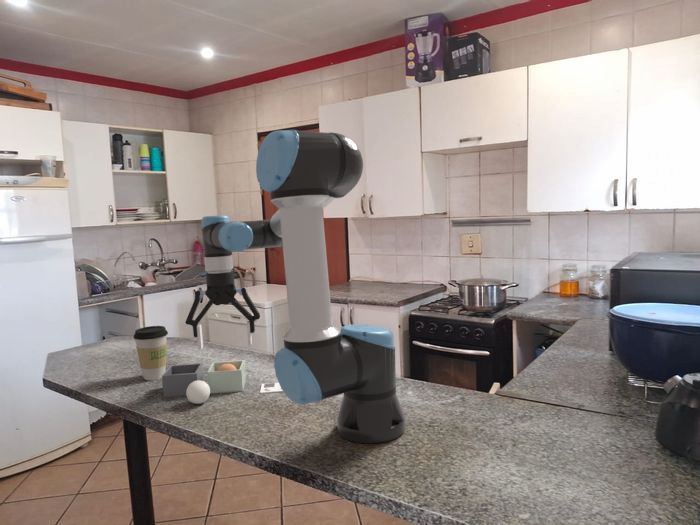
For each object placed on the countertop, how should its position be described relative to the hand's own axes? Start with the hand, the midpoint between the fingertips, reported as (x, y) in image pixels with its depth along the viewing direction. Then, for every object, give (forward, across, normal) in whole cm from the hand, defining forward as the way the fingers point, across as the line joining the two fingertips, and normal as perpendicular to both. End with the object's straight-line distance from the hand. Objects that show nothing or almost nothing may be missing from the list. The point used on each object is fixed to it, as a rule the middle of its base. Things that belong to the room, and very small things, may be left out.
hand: (225, 346), depth 142 cm
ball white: (+9, +6, +10) cm, 15 cm away
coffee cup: (+11, +24, -15) cm, 31 cm away
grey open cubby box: (+12, +12, -1) cm, 17 cm away
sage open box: (+12, 0, -1) cm, 12 cm away
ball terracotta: (+8, 0, 0) cm, 8 cm away
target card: (+12, -14, +3) cm, 19 cm away
